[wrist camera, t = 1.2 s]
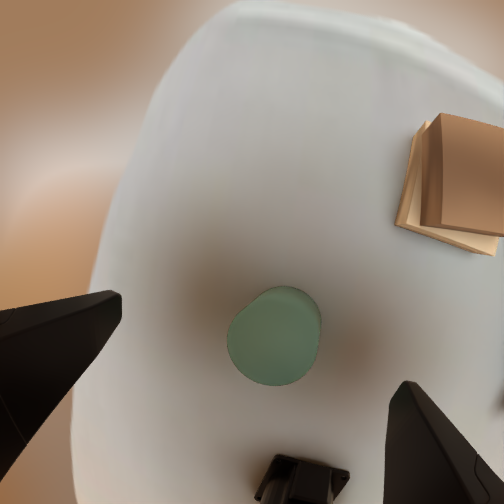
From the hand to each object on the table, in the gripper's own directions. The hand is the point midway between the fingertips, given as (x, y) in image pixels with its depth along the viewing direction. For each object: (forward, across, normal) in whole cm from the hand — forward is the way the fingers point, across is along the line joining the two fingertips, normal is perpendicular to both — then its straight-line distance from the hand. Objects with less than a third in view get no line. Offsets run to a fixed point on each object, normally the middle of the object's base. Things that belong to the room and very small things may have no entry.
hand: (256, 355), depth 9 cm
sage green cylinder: (+10, -1, +5) cm, 12 cm away
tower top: (+9, -8, -6) cm, 14 cm away
